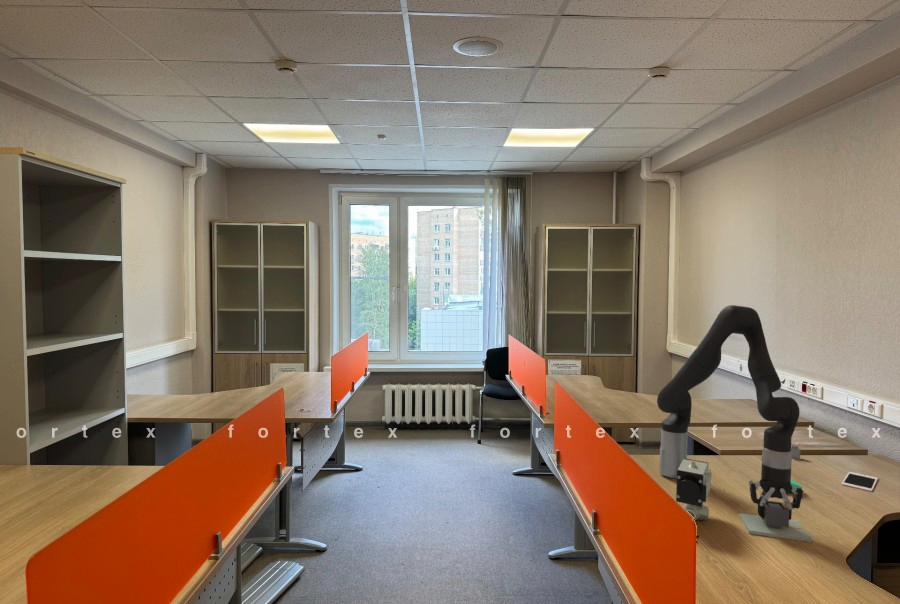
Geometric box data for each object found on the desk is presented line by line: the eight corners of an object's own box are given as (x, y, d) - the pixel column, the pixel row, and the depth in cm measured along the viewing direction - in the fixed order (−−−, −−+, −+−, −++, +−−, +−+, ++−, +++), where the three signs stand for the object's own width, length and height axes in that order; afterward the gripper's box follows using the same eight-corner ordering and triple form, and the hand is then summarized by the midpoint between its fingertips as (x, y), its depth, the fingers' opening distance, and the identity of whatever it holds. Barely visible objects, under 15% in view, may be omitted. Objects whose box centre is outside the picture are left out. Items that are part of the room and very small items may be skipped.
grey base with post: (749, 533, 155) (750, 510, 155) (739, 516, 167) (740, 494, 167) (812, 542, 151) (813, 517, 151) (797, 523, 162) (798, 501, 162)
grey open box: (765, 524, 157) (766, 506, 157) (760, 515, 163) (760, 498, 162) (788, 527, 155) (789, 509, 155) (782, 518, 161) (783, 501, 161)
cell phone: (878, 480, 201) (878, 477, 201) (871, 493, 188) (871, 490, 188) (849, 473, 207) (849, 471, 207) (841, 486, 194) (841, 483, 194)
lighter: (799, 458, 224) (800, 439, 223) (800, 459, 222) (800, 440, 222) (780, 455, 227) (780, 436, 227) (780, 456, 226) (780, 437, 225)
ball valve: (705, 532, 156) (707, 473, 155) (674, 525, 160) (676, 467, 160) (712, 510, 171) (713, 456, 170) (683, 504, 176) (685, 451, 175)
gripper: (752, 465, 157) (750, 520, 157) (808, 470, 152) (806, 528, 153) (746, 456, 164) (744, 510, 164) (799, 462, 160) (797, 517, 160)
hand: (774, 518), depth 159 cm, fingers closed on grey open box, 6 cm apart
